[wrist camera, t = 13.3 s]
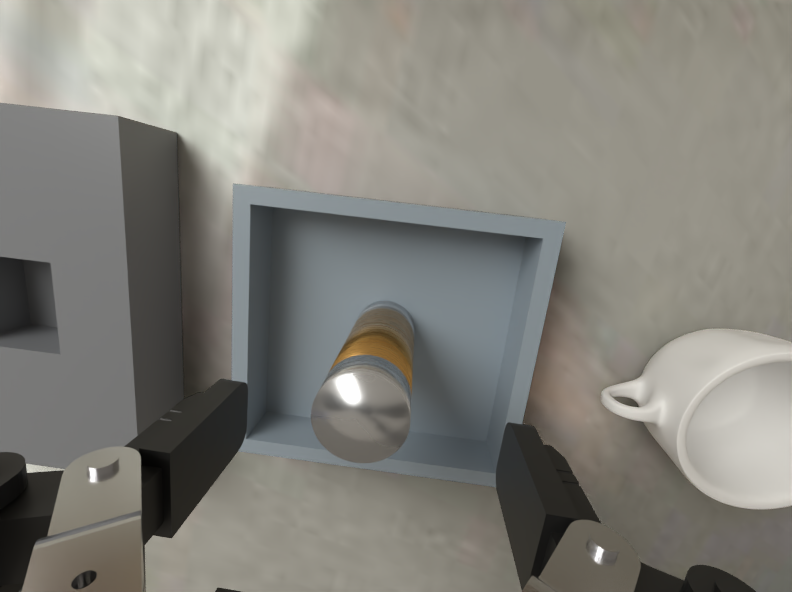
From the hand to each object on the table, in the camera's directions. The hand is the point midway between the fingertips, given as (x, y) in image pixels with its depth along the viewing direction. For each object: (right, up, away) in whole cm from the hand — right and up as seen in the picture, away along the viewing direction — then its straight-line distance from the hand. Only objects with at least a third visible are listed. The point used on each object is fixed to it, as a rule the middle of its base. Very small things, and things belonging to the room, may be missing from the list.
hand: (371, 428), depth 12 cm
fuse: (0, +2, +9) cm, 10 cm away
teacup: (+16, 0, +10) cm, 19 cm away
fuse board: (-18, +5, +11) cm, 21 cm away
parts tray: (0, +2, +10) cm, 10 cm away
